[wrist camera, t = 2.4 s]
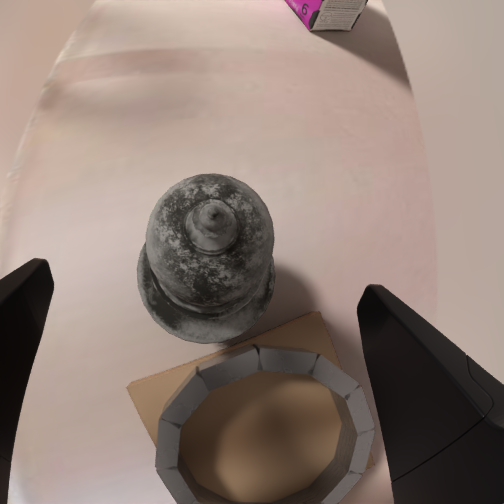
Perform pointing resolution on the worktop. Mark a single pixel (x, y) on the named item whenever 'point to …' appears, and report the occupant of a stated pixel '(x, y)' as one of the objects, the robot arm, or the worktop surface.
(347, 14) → the candy bar box
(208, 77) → the worktop surface
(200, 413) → the socket base
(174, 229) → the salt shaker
